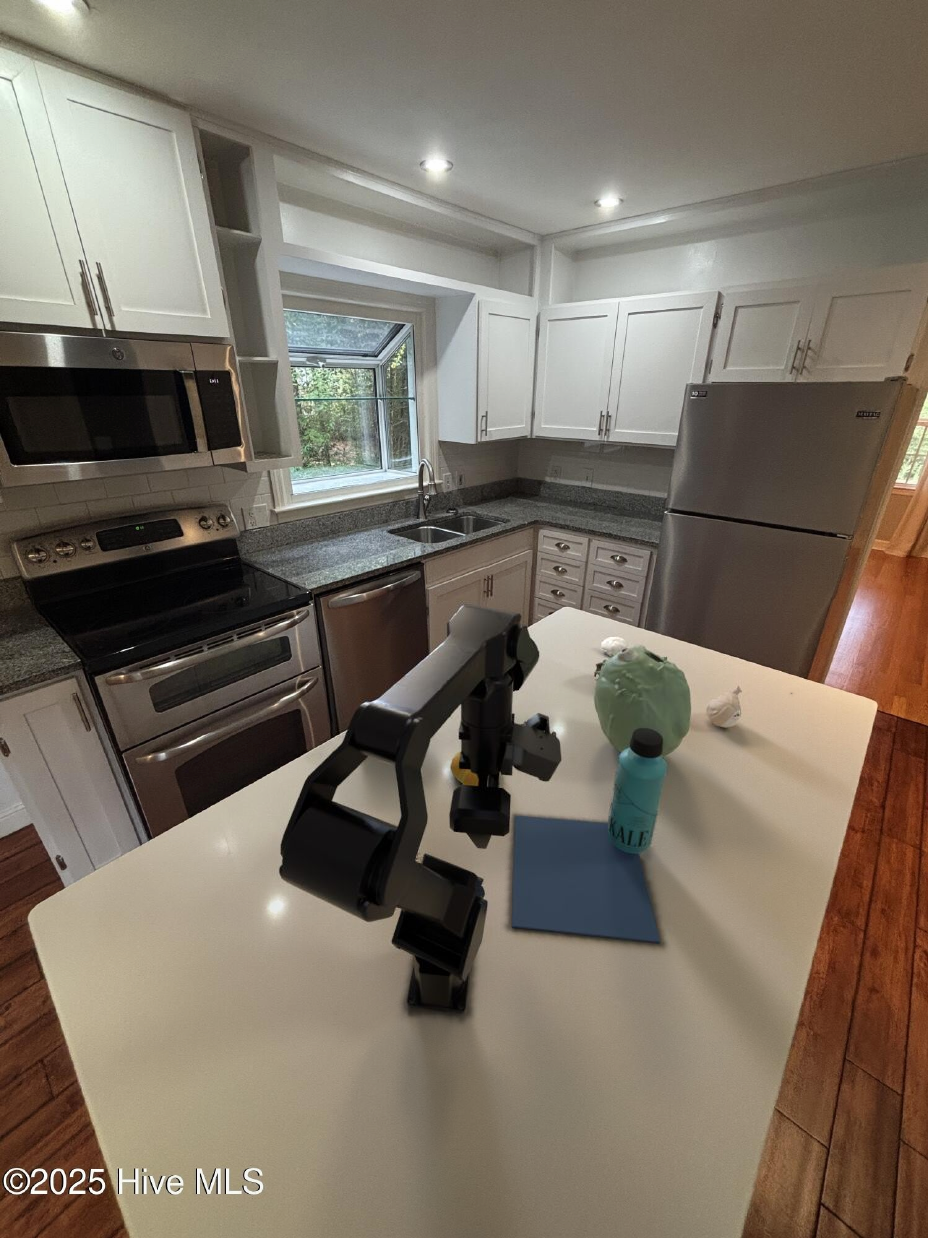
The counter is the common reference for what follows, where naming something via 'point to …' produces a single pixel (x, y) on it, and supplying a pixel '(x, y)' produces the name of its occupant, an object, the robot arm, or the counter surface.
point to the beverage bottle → (637, 792)
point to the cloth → (578, 881)
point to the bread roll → (463, 772)
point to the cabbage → (642, 698)
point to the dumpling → (613, 645)
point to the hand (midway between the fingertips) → (484, 817)
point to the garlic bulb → (725, 709)
